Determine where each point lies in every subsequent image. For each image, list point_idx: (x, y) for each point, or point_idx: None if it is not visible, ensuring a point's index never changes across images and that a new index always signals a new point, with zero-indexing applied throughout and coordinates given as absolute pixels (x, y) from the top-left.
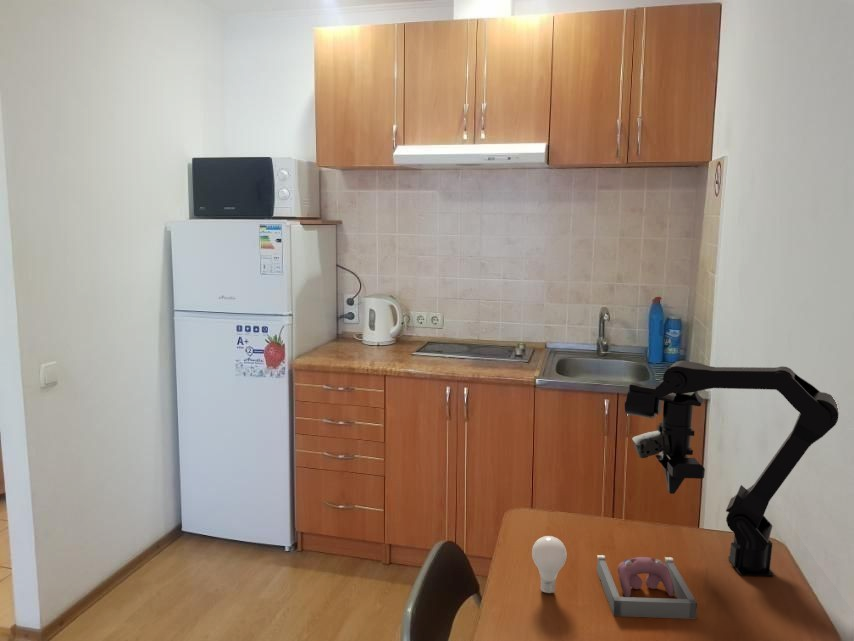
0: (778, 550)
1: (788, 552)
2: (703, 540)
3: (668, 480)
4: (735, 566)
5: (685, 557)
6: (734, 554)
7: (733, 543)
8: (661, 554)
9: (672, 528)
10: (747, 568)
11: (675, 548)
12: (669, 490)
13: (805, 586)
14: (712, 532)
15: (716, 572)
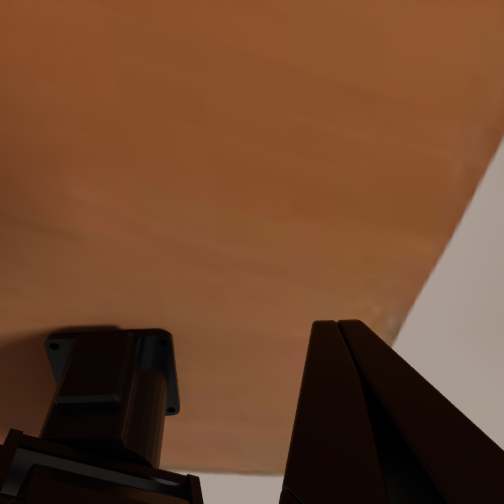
0: (248, 457)
1: (238, 471)
2: (316, 290)
3: (321, 477)
4: (77, 339)
5: (158, 178)
6: (75, 372)
7: (102, 402)
8: (170, 62)
9: (438, 200)
10: (64, 369)
11: (242, 157)
12: (309, 345)
13: None
14: (378, 335)
15: (50, 264)
